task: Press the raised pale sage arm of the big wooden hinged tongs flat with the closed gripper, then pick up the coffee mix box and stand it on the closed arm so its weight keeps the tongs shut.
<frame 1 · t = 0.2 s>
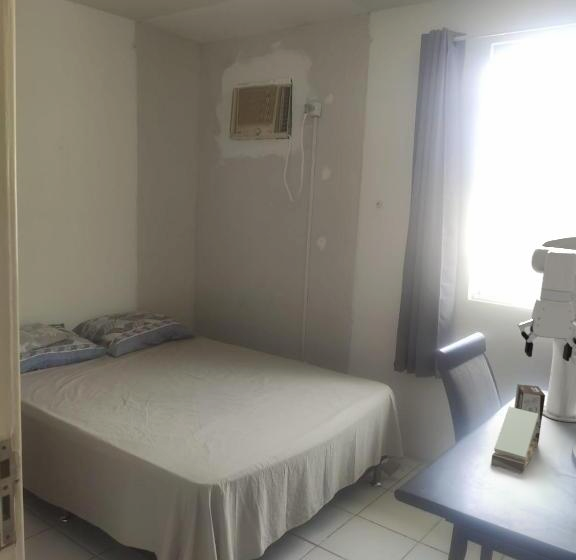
hand: (547, 357, 154), 30 cm above the table, tool pointing down, fingers open, 9 cm apart
tong arm: (516, 432, 158), point 8 cm above the table, hinge at 30.0°
tongs base: (514, 456, 160), on the table
coffee box: (524, 440, 173), on the table
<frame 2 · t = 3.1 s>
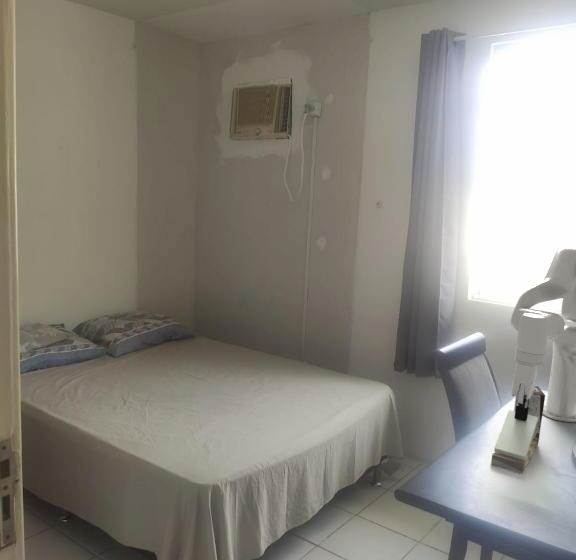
hand: (520, 419, 162), 10 cm above the table, tool pointing down, fingers closed
tong arm: (516, 434, 159), point 7 cm above the table, hinge at 24.9°, touching gripper
everything else where it was.
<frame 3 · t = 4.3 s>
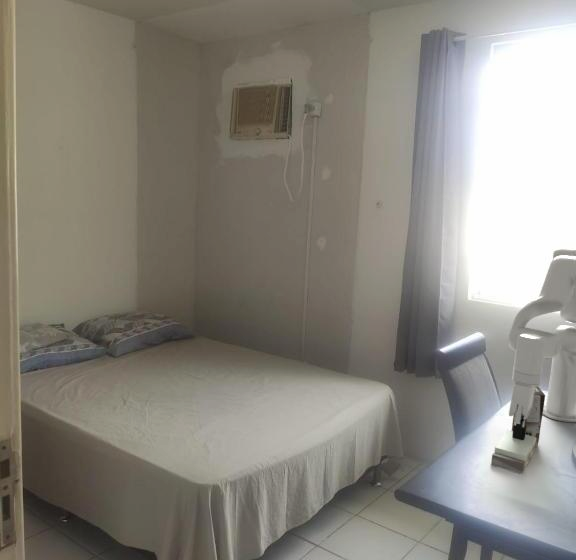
hand: (518, 438, 163), 4 cm above the table, tool pointing down, fingers closed
tong arm: (515, 444, 160), point 3 cm above the table, hinge at -0.4°, touching gripper
everything else where it was.
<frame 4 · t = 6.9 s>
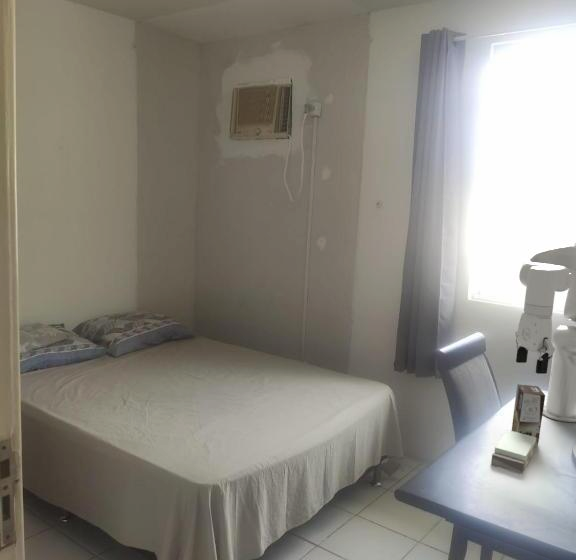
hand: (530, 367, 164), 24 cm above the table, tool pointing down, fingers open, 9 cm apart
tong arm: (515, 444, 160), point 3 cm above the table, hinge at -0.4°
everything else where it was.
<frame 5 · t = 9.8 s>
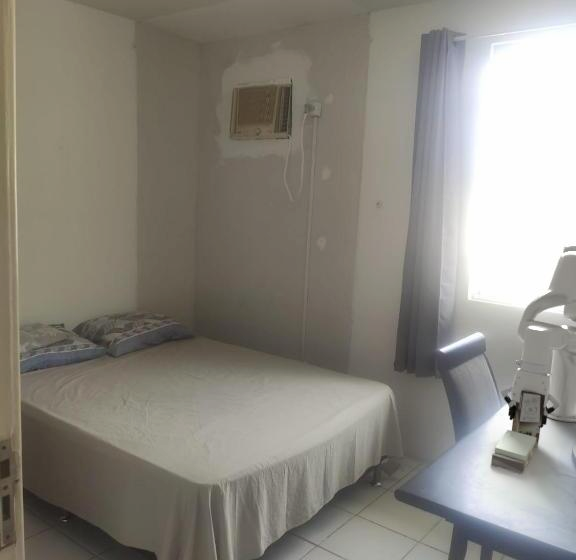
hand: (526, 422, 172), 6 cm above the table, tool pointing down, fingers closed on coffee box, 8 cm apart
coffee box: (524, 440, 173), on the table, touching gripper
everything else where it was.
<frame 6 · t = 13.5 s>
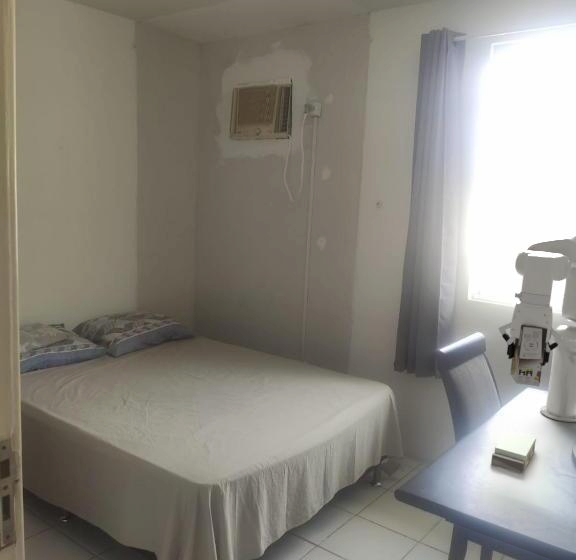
hand: (526, 361, 156), 28 cm above the table, tool pointing down, fingers closed on coffee box, 8 cm apart
coffee box: (524, 380, 157), point 22 cm above the table, touching gripper
everything else where it was.
when the fingers open (12 cm above the table, at t = 17.2 s): coffee box drops 2 cm, resting on tong arm.
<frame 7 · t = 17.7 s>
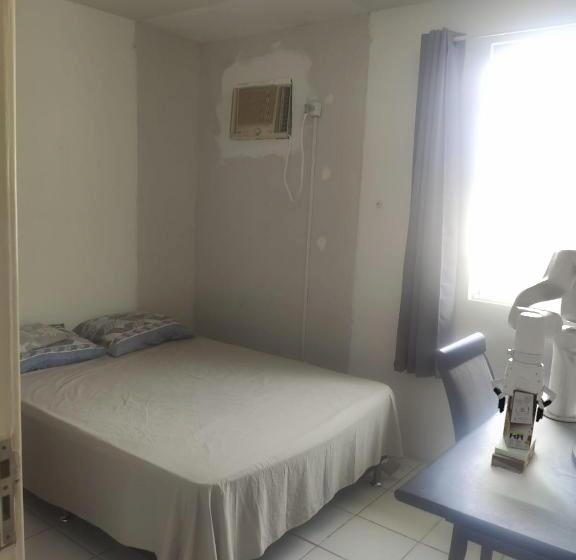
hand: (519, 416, 158), 12 cm above the table, tool pointing down, fingers open, 9 cm apart
tong arm: (515, 444, 160), point 3 cm above the table, hinge at -0.6°, touching coffee box
coffee box: (515, 443, 160), point 4 cm above the table, touching tong arm
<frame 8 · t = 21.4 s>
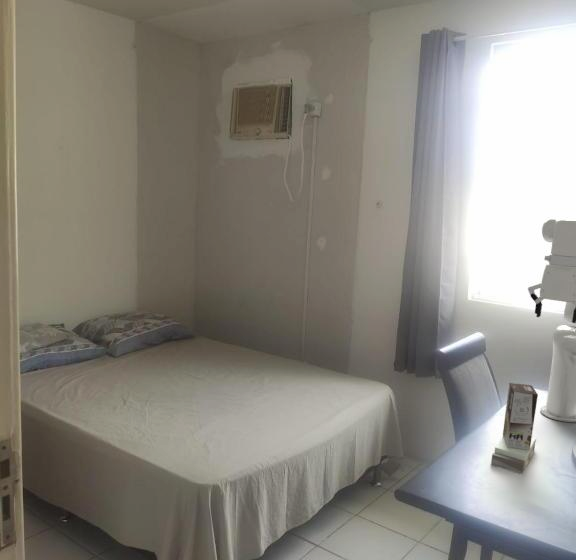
hand: (555, 319, 166), 38 cm above the table, tool pointing down, fingers open, 9 cm apart
nothing on the table moved.
at the end: tong arm at -1° (first picture: +30°); coffee box inside the target area (0.2 cm from its centre), point 3.9 cm above the table; coffee box tilted 1° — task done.
